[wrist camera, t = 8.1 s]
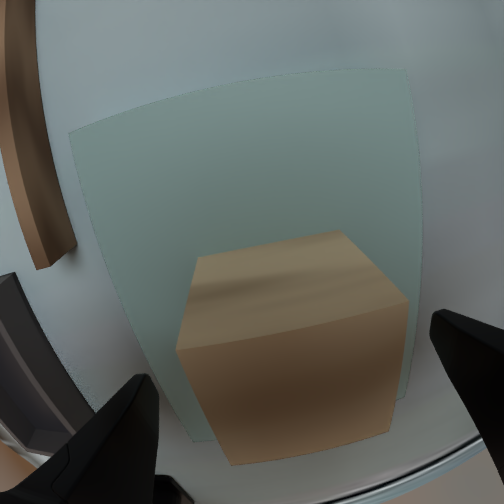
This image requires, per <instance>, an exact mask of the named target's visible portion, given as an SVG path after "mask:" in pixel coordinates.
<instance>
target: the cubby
mask: <svg viewBox="0 0 504 504" xmlns="http://www.w3.org/2000/svg"><path fill="white" fill-rule="evenodd" d="M0 148H1V153H2V158H3V163H4V168H5V172H6V176H7V180H8V185H9V188H10V192H11V196H12V200H13V203H14V207H15V210H16V213H17V217H18V220H19V223H20V226H21V229H22V232H23V235H24V238H25V241H26V244H27V247H28V249H29V252H30V255H31V257H32V260H33V262H34V265H35V268H36V270H39V269H43V268H47V267H51V266H52V265H53V264H54V263H55V262H56V261H57V260H59V259H60V258H61V257H62V256H63V255H64V254H66V253H67V252H68V251H69V250H70V249H72V248H73V247H74V246H75V245H76V244H77V242H76V239H75V236H74V233H73V230H72V227H71V224H70V221H69V217H68V214H67V211H66V208H65V204H64V201H63V197H62V194H61V190H60V187H59V183H58V179H57V175H56V171H55V167H54V163H53V159H52V154H51V150H50V145H49V140H48V135H47V130H46V125H45V119H44V113H43V107H42V100H41V93H40V85H39V76H38V66H37V54H36V36H35V0H0Z"/></svg>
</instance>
